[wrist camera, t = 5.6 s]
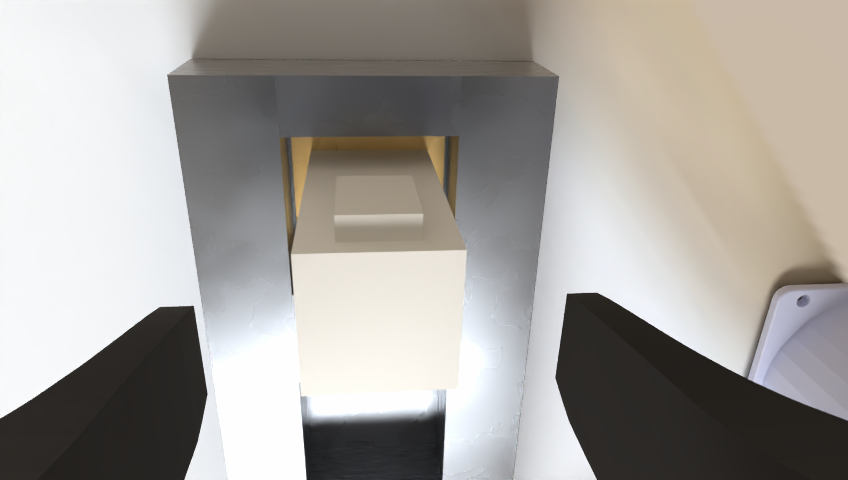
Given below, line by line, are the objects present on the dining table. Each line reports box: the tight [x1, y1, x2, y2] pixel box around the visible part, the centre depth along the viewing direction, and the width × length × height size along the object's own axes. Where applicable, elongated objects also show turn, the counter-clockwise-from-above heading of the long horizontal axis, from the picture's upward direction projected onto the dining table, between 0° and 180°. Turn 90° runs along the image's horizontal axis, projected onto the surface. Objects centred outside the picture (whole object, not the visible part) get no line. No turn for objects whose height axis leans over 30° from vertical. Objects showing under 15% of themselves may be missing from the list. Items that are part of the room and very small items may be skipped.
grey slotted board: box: [167, 59, 559, 480], centre depth 22 cm, size 10×24×2 cm, turn 178°
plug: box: [291, 150, 467, 397], centre depth 16 cm, size 4×4×7 cm
